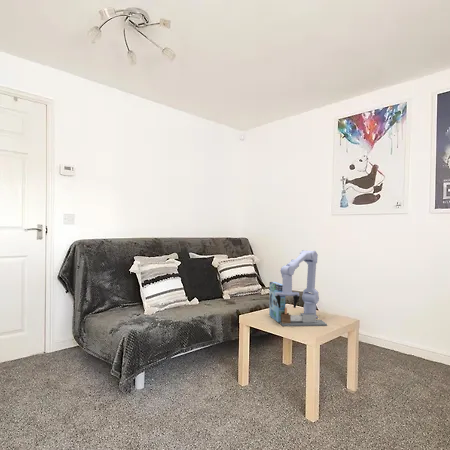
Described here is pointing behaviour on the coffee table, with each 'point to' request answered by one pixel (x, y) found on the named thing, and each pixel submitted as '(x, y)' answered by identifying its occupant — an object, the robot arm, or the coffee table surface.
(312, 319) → the sleeve
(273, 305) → the gum box
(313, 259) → the robot arm
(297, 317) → the blocks
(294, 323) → the base board
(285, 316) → the socket
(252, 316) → the coffee table surface
